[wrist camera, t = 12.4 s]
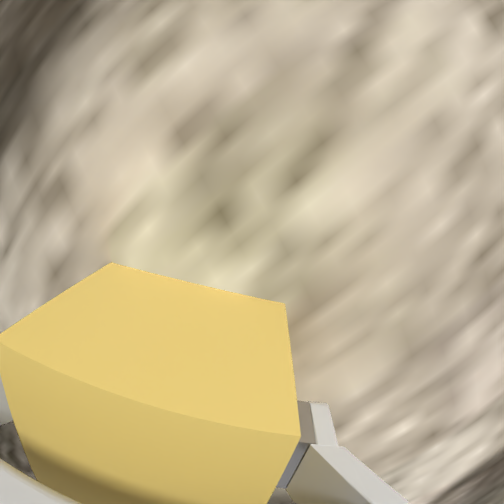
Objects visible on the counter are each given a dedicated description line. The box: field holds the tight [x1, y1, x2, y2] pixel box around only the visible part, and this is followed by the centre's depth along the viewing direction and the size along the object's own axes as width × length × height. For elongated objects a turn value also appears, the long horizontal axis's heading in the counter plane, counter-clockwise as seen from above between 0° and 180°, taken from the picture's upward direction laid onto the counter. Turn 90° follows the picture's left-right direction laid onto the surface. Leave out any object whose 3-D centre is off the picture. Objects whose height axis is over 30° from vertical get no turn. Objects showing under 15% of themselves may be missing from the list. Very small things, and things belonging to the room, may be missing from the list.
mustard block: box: [0, 263, 301, 504], centre depth 7 cm, size 5×5×5 cm
